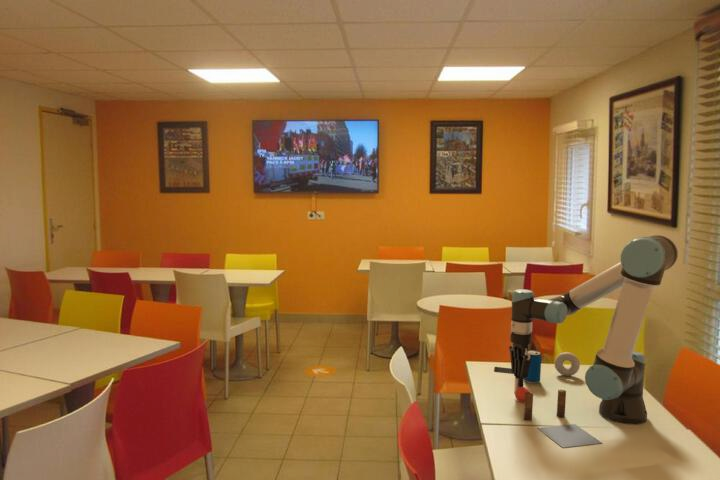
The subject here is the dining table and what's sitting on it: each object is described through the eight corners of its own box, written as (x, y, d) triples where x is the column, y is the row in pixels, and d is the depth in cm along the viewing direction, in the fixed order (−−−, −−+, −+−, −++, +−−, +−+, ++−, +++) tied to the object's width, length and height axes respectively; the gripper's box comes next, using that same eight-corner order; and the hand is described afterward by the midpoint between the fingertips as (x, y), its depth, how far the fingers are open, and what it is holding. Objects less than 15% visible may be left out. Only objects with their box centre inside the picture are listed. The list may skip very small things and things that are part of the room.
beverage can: (540, 384, 228) (542, 355, 227) (523, 383, 230) (525, 354, 228) (539, 379, 235) (540, 350, 233) (522, 377, 236) (524, 349, 235)
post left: (533, 420, 194) (534, 394, 193) (526, 421, 193) (527, 395, 192) (529, 417, 197) (530, 392, 196) (522, 418, 196) (523, 392, 195)
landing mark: (602, 443, 178) (602, 442, 178) (562, 448, 175) (562, 447, 175) (574, 424, 192) (574, 424, 192) (537, 428, 188) (537, 427, 188)
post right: (566, 417, 197) (567, 392, 196) (559, 418, 197) (560, 392, 196) (561, 414, 200) (563, 389, 199) (555, 415, 199) (556, 389, 198)
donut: (578, 375, 240) (580, 352, 239) (579, 378, 237) (581, 354, 235) (553, 373, 242) (554, 350, 241) (554, 375, 239) (555, 352, 238)
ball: (531, 405, 210) (534, 393, 207) (517, 406, 208) (521, 394, 206) (524, 394, 214) (527, 383, 212) (510, 396, 213) (514, 384, 210)
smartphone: (528, 375, 239) (493, 371, 243) (528, 376, 239) (493, 373, 243) (528, 370, 245) (494, 366, 249) (528, 371, 246) (494, 367, 249)
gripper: (503, 327, 216) (501, 388, 219) (520, 337, 204) (518, 401, 206) (521, 326, 218) (519, 387, 221) (539, 336, 206) (536, 399, 208)
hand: (518, 394), depth 213 cm, fingers closed
